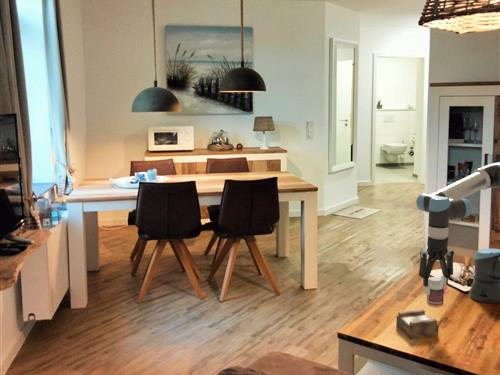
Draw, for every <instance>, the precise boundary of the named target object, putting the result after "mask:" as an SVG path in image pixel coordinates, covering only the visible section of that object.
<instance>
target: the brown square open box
mask: <svg viewBox="0 0 500 375" xmlns="http://www.w3.org/2000/svg"><path fill="white" fill-rule="evenodd" d="M395 324H396V326H395V327H396V328H397V329H398V330H399V331H401V332H402V333H403V334H404V335H405V336H406V337H407V338H408V339H409V340H415V339H416V340H417V339H424V338H425V339H427V338H434V337H439V328H440V327H439V325H440V324H439V323H438V320H437V319H436V318H431V317H430V316H428V315H427V314H426V311H425V310H424V309H417V310H408V311H399V312H398V314H397V315H396V323H395Z"/></svg>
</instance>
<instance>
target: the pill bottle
mask: <svg viewBox="0 0 500 375" xmlns="http://www.w3.org/2000/svg"><path fill="white" fill-rule="evenodd" d="M429 279H431V283H430V295H427V294H426V303H427V304H426V305H428V307H431V308H435V309H436V308H437V309H439V308H442V307H443V306H444V295H445V294H444V286H443V284H442V279H441V277H439V276H431V277H430V276H429Z"/></svg>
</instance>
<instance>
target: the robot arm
mask: <svg viewBox="0 0 500 375" xmlns="http://www.w3.org/2000/svg"><path fill="white" fill-rule="evenodd" d="M490 188H492V189H493V188H494V189H495V188H496V189H500V161H497V162H493V163H490V164H487V165H483V166H481V167H479V168H477V169H474V170H473V171H472V173H471V174H470V175H467V176H465V177H464V178H463V177H462V178H461V179H458V180H457V181H455V182H453V183H451V184H449V185H447V186H445V187H442V188H441V189H438V190H436V191H434V192H432V193H425V192H424V193H420V194H419V195H418V197H417V198H416V207H417V209H418V210H420V211H422V212H425V213H428V223H427V224H428V226H427V243H426V244H427V245H426V246H427V249H426V251H423V252H422V251H421V252H420V253H419V255H420V261H419V262H420V263H419V268H418V276H419V278H421V279H423V280H422V281H423V282H422V286H424V294H426V296H427V295H430V283H431V279H429V278H430V276H431V273H432V270H433V268H434V265H435V264H436V261H439V264H440V269H441V274H442V275H440V278H441V279H442V284H443V286H444V295H445V294H447V285H448V283H449V279H450V278H451V276H453V275H454V254H455V251H454V250H451V249H448V246H449V238H448V237H449V226H450V221H452V220H459V219H464V218H467V217H469V216H471V214H472V212H473V205H472V203H471V201H470V200H468V199H467V198H466V197H469V196H470V195H473V194H475V193H476V192H479V191H481V190H482V191H486V190H488V189H490ZM473 274H474V275H473V276H474V277H473V282H472V283H471V286H470V289H469V292H468V296H469V298H470V299H472V300H474V301H476V302H479V303H485V304H499V303H500V249H498V248H481V249H478V250H477V251H476V252H475V257H474V273H473Z"/></svg>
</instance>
